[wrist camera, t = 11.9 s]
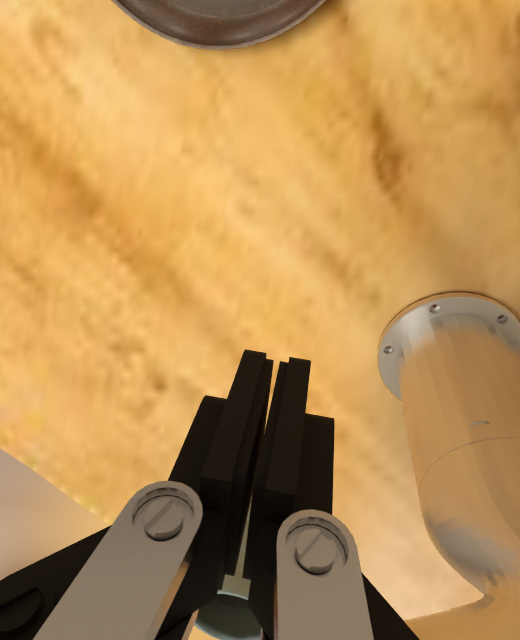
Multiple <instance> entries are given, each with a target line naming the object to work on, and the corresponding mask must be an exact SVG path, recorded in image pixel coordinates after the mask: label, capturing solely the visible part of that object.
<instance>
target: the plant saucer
mask: <svg viewBox="0 0 520 640" xmlns="http://www.w3.org/2000/svg"><path fill="white" fill-rule="evenodd" d="M112 1H113V2H114V3H115V4H116V5H117V6H118V7H119V8H120V9H121V10H122V11H123V12H124V13H126V14H127V15H128V16H129V17H131V18H132V19H133V20H134V21H136V22H137V23H138V24H140V25H141V26H143V27H145V28H146V29H148V30H150V31H151V32H153V33H155V34H157V35H159V36H161V37H163V38H165V39H167V40H170V41H172V42H175V43H178V44H180V45H184V46H189V47H194V48H199V49H207V50H227V49H236V48H243V47H247V46H251V45H255V44H258V43H261V42H264V41H267V40H269V39H271V38H273V37H275V36H278V35H280V34H282V33H284V32H286V31H287V30H289V29H291V28H292V27H294V26H295V25H297V24H298V23H300V22H301V21H303V20H304V19H305V18H307V17H308V16H309V15H310V14H312V13H313V12H314V11H315V10H316V9H317V8H318V7H319V6H320V5H321V4H323V3H324V2H325V1H326V0H112Z"/></svg>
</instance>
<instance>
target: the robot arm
mask: <svg viewBox="0 0 520 640" xmlns="http://www.w3.org/2000/svg"><path fill="white" fill-rule="evenodd" d="M435 304H436V305H435ZM432 305H435V306H432ZM500 315H501V316H500ZM387 346H388V347H387ZM377 359H378V368H379V372H380V375H381V378H382V380H383V382H384V384H385V385H386V387H387V388H388V389H389V390H390V392H391V393H392V394H393V395H394V396H395V397H397V398H398V399H399V400H400V401H402V404H403V410H404V416H405V421H406V427H407V433H408V438H409V444H410V450H411V455H412V461H413V467H414V472H415V478H416V484H417V489H418V495H419V501H420V506H421V512H422V517H423V520H424V524H425V527H426V530H427V532H428V535H429V537H430V539H431V541H432V542H433V544H434V546H435V547H436V549H437V550H438V552H439V553H440V555H441V556H442V557H443V558H444V559H445V560H446V561H447V562H448V564H449V565H450V566H451V567H452V568H453V569H454V570H455V571H456V572H458V573H459V574H460V575H461V576H462V577H463V578H464V579H465V580H467V581H468V582H469V583H470V584H472V585H473V586H474V587H475V588H477V589H478V590H479V591H481V592H482V593H483V594H485V596H484V597H483V598H482V599H480V600H478V601H476V602H474V603H471V604H467V605H463V606H460V607H456V608H452V609H450V610H449V611H445V612H440V613H436V614H431V615H427V616H422V617H418V618H413V619H409V620H404V621H403V619H402V618H401V617H400V616H399V615H398V614H397V613H396V611H395V610H394V609H393V608H392V607H391V606H390V604H389V603H388V602H387V601H386V600H385V599H384V598H383V596H382V595H381V594H380V593H379V592H378V591H377V590H376V588H375V587H374V586H373V585H372V584H371V583H370V581H369V580H368V579H367V578H366V577H365V576H364V575H363V573H362V572H361V567H360V562H359V557H358V551H357V547H356V544H355V541H354V538H353V536H352V534H351V533H350V531H349V530H348V528H347V527H346V526H345V525H344V524H343V523H342V522H341V521H340V520H339V519H337V518H336V517H334V516H332V500H333V461H334V418H329V417H323V416H318V415H312V414H307V413H305V410H306V401H307V392H308V383H309V374H310V365H311V361H310V360H304V359H298V358H292V357H290V358H289V363H287V362H282V361H280V364H279V369H278V374H277V378H276V383H275V387H274V392H273V397H272V401H271V406H270V411H269V415H268V420H267V424H266V417H267V409H268V401H269V393H270V386H271V378H272V370H273V360H270V359H266V353H263V352H257V351H251V350H244V353H243V356H242V358H241V361H240V364H239V367H238V370H237V373H236V375H235V378H234V381H233V384H232V387H231V390H230V392H229V395H228V398H227V399H224V398H218V397H212V396H207V395H206V396H205V397H204V398H203V400H202V402H201V404H200V406H199V409H198V411H197V413H196V416H195V418H194V420H193V423H192V425H191V428H190V430H189V432H188V435H187V437H186V439H185V442H184V444H183V446H182V449H181V451H180V453H179V456H178V458H177V460H176V463H175V465H174V467H173V470H172V472H171V474H170V477H169V479H168V481H159V482H156V483H153V484H150V485H147V486H145V487H144V488H142V489H141V490H139V491H137V492H136V493H135V495H134V496H133V497H132V498H131V499H130V500H129V501H128V503H127V504H126V506H125V507H124V508H123V510H122V511H121V513H120V514H119V516H118V517H117V519H116V520H115V521H114V523H113V524H112V525H111V526H109V527H107V528H105V529H103V530H101V531H99V532H97V533H95V534H92V535H90V536H88V537H86V538H84V539H82V540H80V541H78V542H76V543H74V544H72V545H70V546H68V547H66V548H64V549H62V550H60V551H58V552H56V553H54V554H52V555H50V556H48V557H45V558H44V559H41V560H39V561H37V562H36V563H33V564H31V565H29V566H27V567H25V568H23V569H21V570H19V571H17V572H15V573H13V574H11V575H9V576H7V577H6V578H4V579H2V580H1V581H0V640H188V637H189V635H190V633H191V630H192V628H193V625H194V623H195V621H196V618H197V615H198V611H199V609H200V608H201V607H203V606H204V605H206V604H207V603H209V602H210V601H212V600H213V599H215V598H216V596H217V592H218V590H222V586H223V582H224V578H225V574H226V575H230V576H234V575H235V572H236V567H237V563H238V558H239V553H240V549H241V544H242V539H243V535H244V530H245V525H246V521H247V516H248V511H249V507H250V502H251V509H250V517H249V525H248V533H247V542H246V550H245V558H244V566H243V574H242V578H244V579H248V580H251V582H250V589H249V596H248V603H247V605H248V606H249V608H250V610H251V611H252V613H253V614H254V616H255V618H256V619H257V621H258V622H259V624H260V626H261V632H260V640H520V322H519V321H518V319H517V318H516V317H515V315H514V314H513V313H512V312H511V311H510V310H508V309H507V308H506V307H505V306H504V305H502V304H500V303H498V302H497V301H495V300H493V299H491V298H488V297H485V296H482V295H478V294H472V293H465V292H460V293H445V294H439V295H434V296H431V297H428V298H425V299H422V300H420V301H418V302H416V303H414V304H412V305H410V306H408V307H407V308H405V309H404V310H403V311H402V312H400V313H399V314H398V315H396V317H395V318H394V319H393V320H392V321H391V322H390V323H389V324H388V326H387V327H386V329H385V331H384V332H383V334H382V336H381V339H380V342H379V345H378V354H377ZM265 424H266V429H265ZM264 432H265V434H264ZM251 497H252V500H251Z"/></svg>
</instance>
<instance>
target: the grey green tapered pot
mask: <svg viewBox="0 0 520 640" xmlns="http://www.w3.org/2000/svg"><path fill="white" fill-rule="evenodd" d="M250 509H251V502H250V507H249V511H248V516H247V521H246V525H245V530H244V535H243V539H242V544H241V549H240V553H239V558H238V563H237V567H236V572H235V575H234V576H230V575H226V574H225V578H224V582H223V586H222V590H218V592H217V596H216V598H215V599H213V600H212V601H210V602H209V603H207V604H206V605H204V606H203V607H201V608H200V609H199V611H198V615H197V618H196V621H195V623H194V625H195V626H196V627H197V628H198V629H200V630H202V631H203V632H205V633H207V634H208V635H210V636H212V637H214V638H217V639H220V640H260V632H261V626H260V624H259V622H258V621H257V619H256V618H255V616H254V614H253V613H252V611H251V610H250V608H249V606H248V605H247V603H248V596H249V589H250V582H251V580H248V579H244V578H242V574H243V566H244V558H245V550H246V542H247V533H248V525H249V517H250Z"/></svg>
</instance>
